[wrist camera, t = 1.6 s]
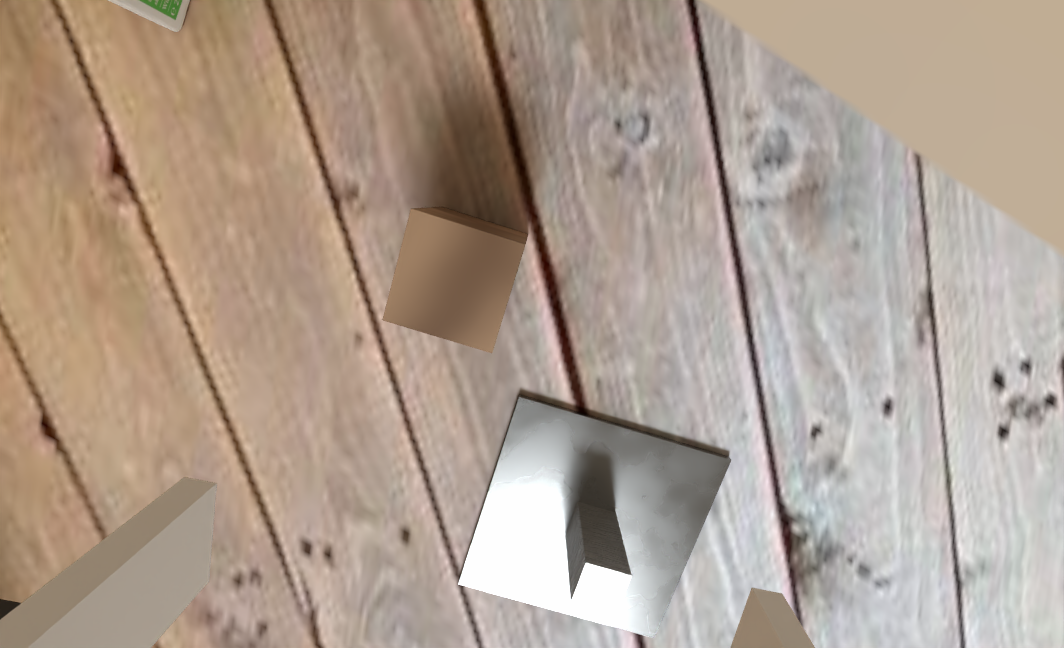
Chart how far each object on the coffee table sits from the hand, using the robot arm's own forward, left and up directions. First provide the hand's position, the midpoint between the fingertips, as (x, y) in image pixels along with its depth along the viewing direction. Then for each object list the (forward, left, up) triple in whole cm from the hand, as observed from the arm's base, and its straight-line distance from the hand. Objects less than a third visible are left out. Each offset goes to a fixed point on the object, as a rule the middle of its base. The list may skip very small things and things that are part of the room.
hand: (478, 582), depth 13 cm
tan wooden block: (-4, +4, -20) cm, 21 cm away
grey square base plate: (+8, -10, -20) cm, 24 cm away
